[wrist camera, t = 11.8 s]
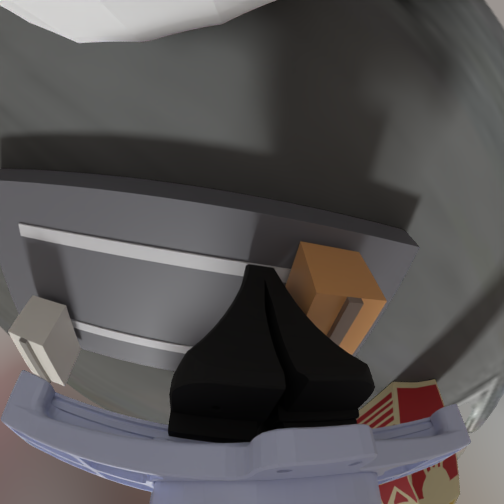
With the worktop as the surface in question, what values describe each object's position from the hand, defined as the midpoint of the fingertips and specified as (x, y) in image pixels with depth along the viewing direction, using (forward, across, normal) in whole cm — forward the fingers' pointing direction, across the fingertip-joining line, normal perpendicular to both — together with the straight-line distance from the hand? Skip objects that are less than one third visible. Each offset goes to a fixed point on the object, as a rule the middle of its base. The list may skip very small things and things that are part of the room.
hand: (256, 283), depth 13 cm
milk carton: (+3, -21, +18) cm, 28 cm away
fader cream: (0, +13, +7) cm, 14 cm away
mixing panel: (+3, +5, +4) cm, 7 cm away
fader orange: (+1, -3, 0) cm, 3 cm away
